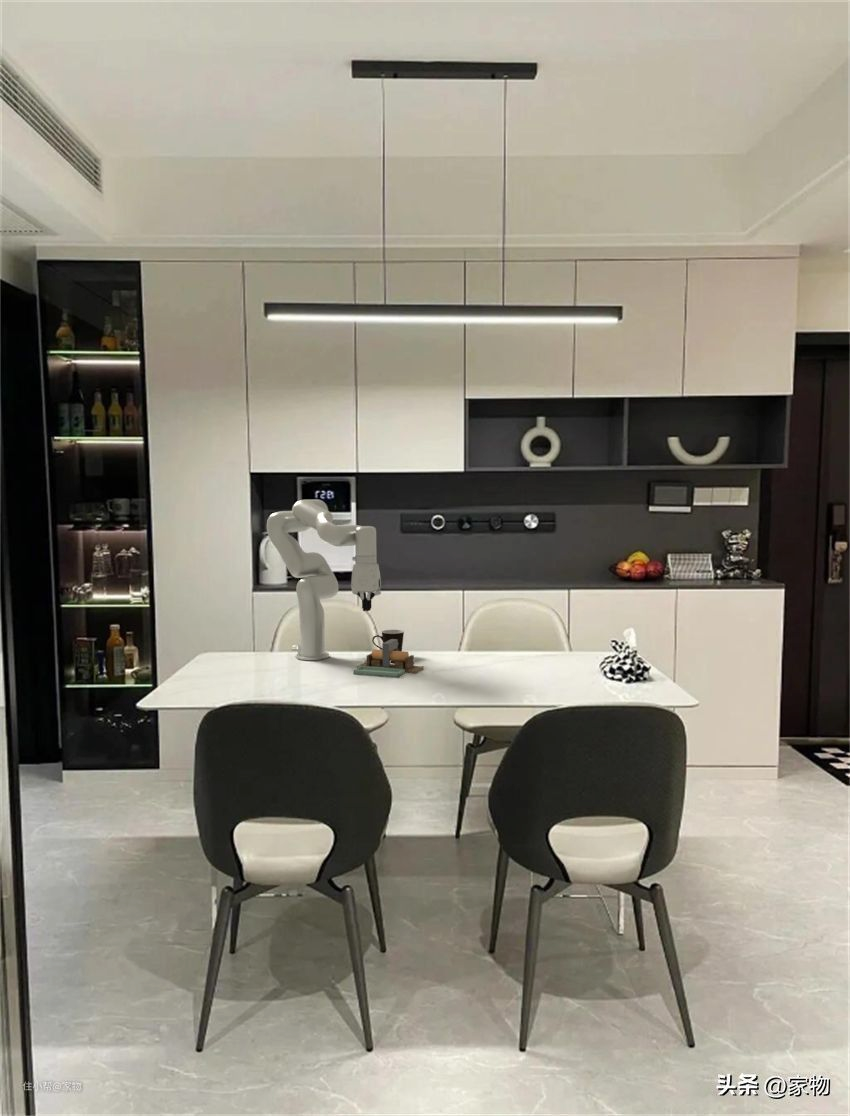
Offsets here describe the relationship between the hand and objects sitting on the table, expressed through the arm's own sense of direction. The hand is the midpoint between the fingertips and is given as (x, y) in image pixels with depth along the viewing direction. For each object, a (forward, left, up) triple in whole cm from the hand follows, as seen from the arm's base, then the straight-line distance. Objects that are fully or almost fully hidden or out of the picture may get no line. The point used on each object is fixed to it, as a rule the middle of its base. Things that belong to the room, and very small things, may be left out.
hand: (366, 610), depth 284 cm
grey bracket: (+9, 0, -20) cm, 22 cm away
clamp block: (+9, 0, -21) cm, 23 cm away
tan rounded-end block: (+9, 0, -18) cm, 20 cm away
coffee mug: (+1, +19, -21) cm, 29 cm away
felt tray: (+8, -8, -21) cm, 24 cm away
